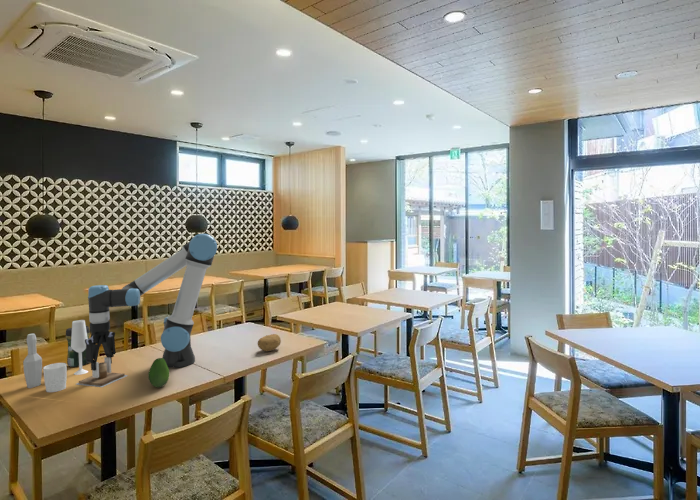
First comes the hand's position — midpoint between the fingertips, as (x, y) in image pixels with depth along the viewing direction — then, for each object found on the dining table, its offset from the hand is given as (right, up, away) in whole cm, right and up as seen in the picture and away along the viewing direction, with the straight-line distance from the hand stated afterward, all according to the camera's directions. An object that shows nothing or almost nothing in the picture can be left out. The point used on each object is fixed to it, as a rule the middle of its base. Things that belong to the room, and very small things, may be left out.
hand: (102, 374), depth 182 cm
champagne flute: (-15, -2, +9) cm, 18 cm away
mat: (0, -3, 0) cm, 3 cm away
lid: (0, -2, 0) cm, 2 cm away
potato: (+64, 0, +42) cm, 77 cm away
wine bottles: (-24, -2, +22) cm, 33 cm away
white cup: (-13, -4, -10) cm, 17 cm away
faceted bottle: (-25, -3, -5) cm, 26 cm away
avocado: (+28, -3, -7) cm, 29 cm away
